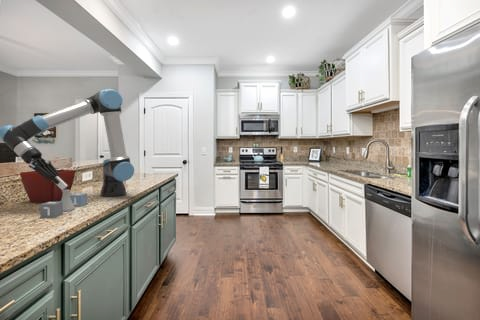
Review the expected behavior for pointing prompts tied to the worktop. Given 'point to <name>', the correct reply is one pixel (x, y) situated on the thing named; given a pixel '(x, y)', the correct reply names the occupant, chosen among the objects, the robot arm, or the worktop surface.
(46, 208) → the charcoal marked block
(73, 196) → the slate-blue marked block
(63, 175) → the plant pot
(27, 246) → the worktop surface
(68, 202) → the flask
